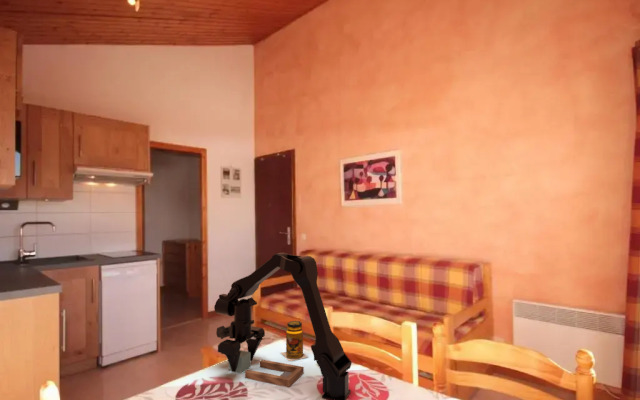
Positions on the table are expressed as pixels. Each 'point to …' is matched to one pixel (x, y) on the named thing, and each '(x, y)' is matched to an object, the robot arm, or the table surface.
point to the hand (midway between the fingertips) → (242, 365)
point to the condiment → (294, 341)
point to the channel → (276, 379)
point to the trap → (285, 374)
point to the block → (243, 362)
